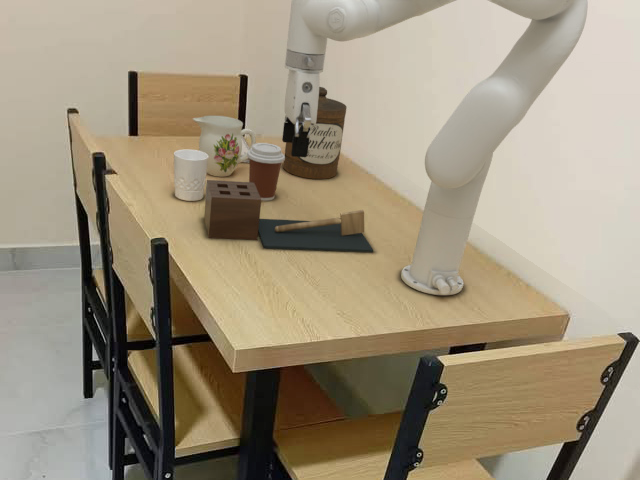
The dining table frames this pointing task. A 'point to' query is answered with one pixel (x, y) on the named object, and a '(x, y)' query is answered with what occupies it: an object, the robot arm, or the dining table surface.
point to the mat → (310, 237)
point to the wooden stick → (332, 223)
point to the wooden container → (320, 142)
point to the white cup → (190, 174)
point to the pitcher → (222, 143)
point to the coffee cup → (265, 168)
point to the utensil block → (232, 210)
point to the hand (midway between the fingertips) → (294, 149)
